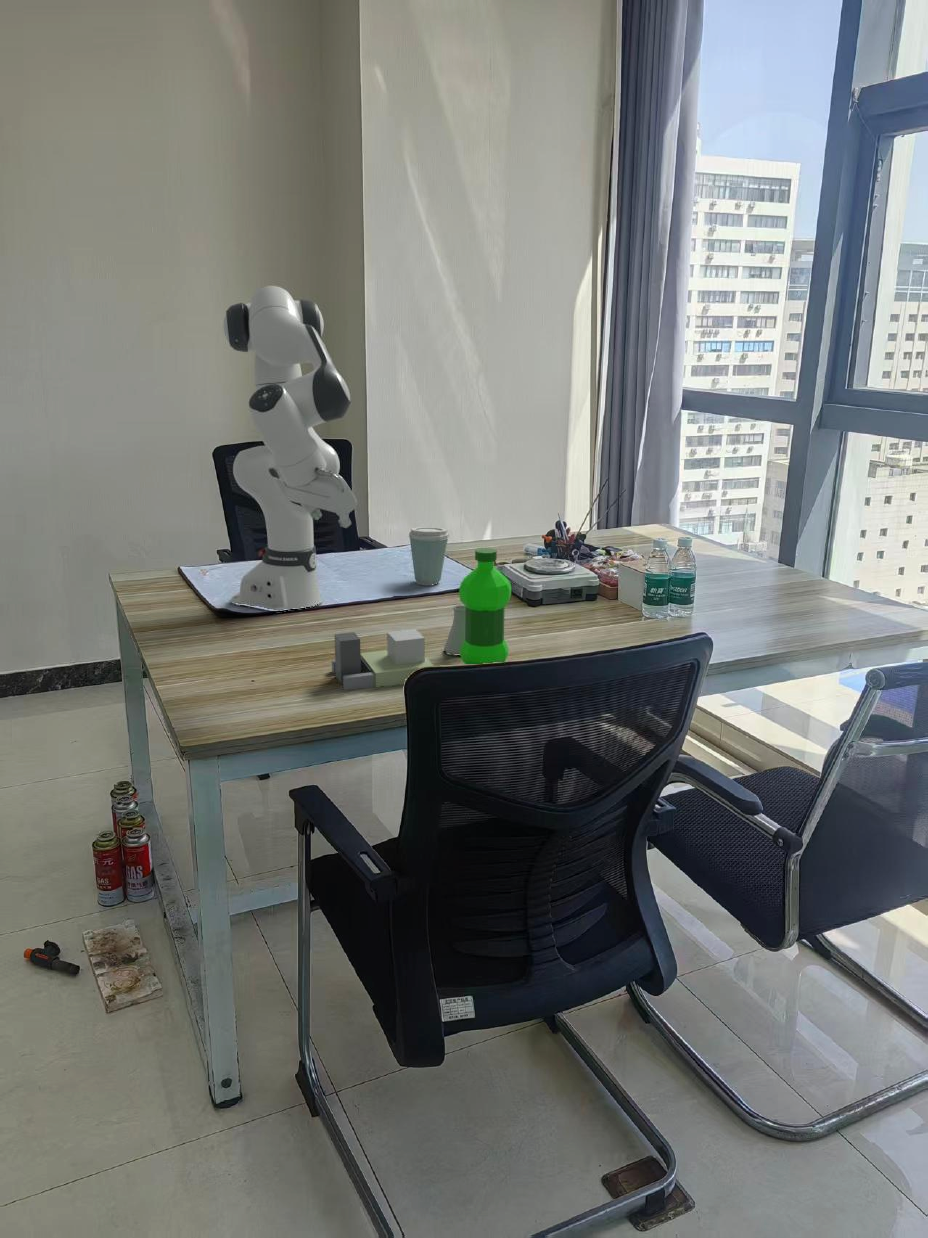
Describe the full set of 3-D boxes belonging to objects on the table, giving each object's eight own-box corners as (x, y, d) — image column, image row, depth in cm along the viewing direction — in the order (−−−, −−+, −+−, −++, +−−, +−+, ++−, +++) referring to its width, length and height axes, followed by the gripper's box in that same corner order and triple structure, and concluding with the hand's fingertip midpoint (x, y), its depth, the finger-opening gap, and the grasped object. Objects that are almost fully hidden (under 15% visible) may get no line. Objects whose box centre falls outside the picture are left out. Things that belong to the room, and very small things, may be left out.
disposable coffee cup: (407, 577, 267) (407, 523, 263) (447, 577, 269) (447, 523, 264) (410, 588, 257) (409, 532, 253) (451, 587, 259) (451, 531, 254)
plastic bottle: (455, 676, 197) (456, 555, 190) (464, 659, 207) (465, 543, 199) (505, 680, 196) (507, 558, 188) (511, 662, 205) (514, 545, 198)
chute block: (341, 684, 193) (340, 641, 190) (335, 676, 197) (334, 634, 194) (361, 682, 194) (360, 639, 191) (355, 674, 198) (354, 632, 195)
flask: (442, 646, 215) (442, 602, 212) (475, 645, 215) (475, 601, 212) (444, 657, 208) (444, 612, 205) (478, 656, 209) (478, 611, 206)
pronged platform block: (345, 691, 189) (344, 652, 187) (331, 670, 200) (330, 633, 198) (434, 680, 195) (434, 642, 193) (415, 660, 206) (415, 624, 204)
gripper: (347, 463, 184) (375, 520, 193) (283, 449, 198) (312, 504, 206) (324, 482, 182) (354, 540, 190) (260, 468, 195) (291, 522, 204)
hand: (331, 521), depth 198 cm, fingers open, 8 cm apart
